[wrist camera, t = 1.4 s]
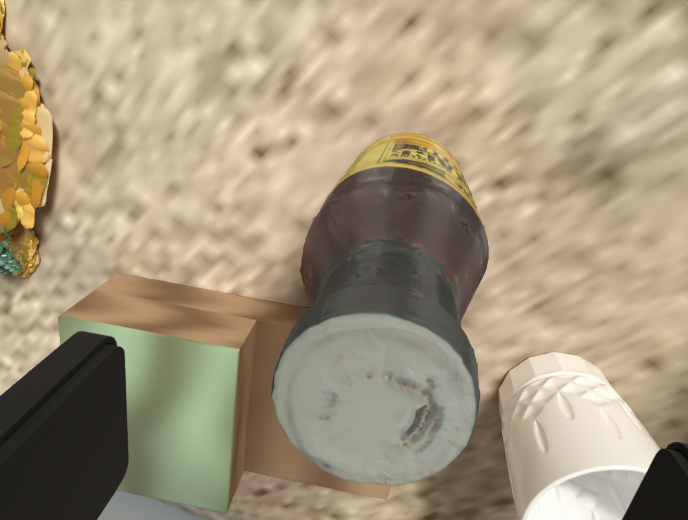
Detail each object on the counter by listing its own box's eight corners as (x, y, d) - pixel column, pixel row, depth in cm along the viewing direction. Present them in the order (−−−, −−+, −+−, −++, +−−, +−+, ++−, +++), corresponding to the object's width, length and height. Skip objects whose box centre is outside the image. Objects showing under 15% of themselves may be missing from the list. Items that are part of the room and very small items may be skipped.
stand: (422, 330, 31) (425, 389, 25) (388, 471, 36) (384, 546, 30) (118, 272, 32) (57, 317, 26) (123, 417, 37) (73, 480, 31)
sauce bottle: (483, 192, 27) (640, 464, 9) (395, 257, 29) (376, 586, 11) (409, 98, 26) (416, 193, 8) (323, 173, 28) (162, 392, 10)
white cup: (463, 405, 33) (485, 541, 24) (542, 320, 30) (603, 437, 21) (558, 462, 34) (616, 614, 24) (645, 384, 30) (747, 524, 21)
